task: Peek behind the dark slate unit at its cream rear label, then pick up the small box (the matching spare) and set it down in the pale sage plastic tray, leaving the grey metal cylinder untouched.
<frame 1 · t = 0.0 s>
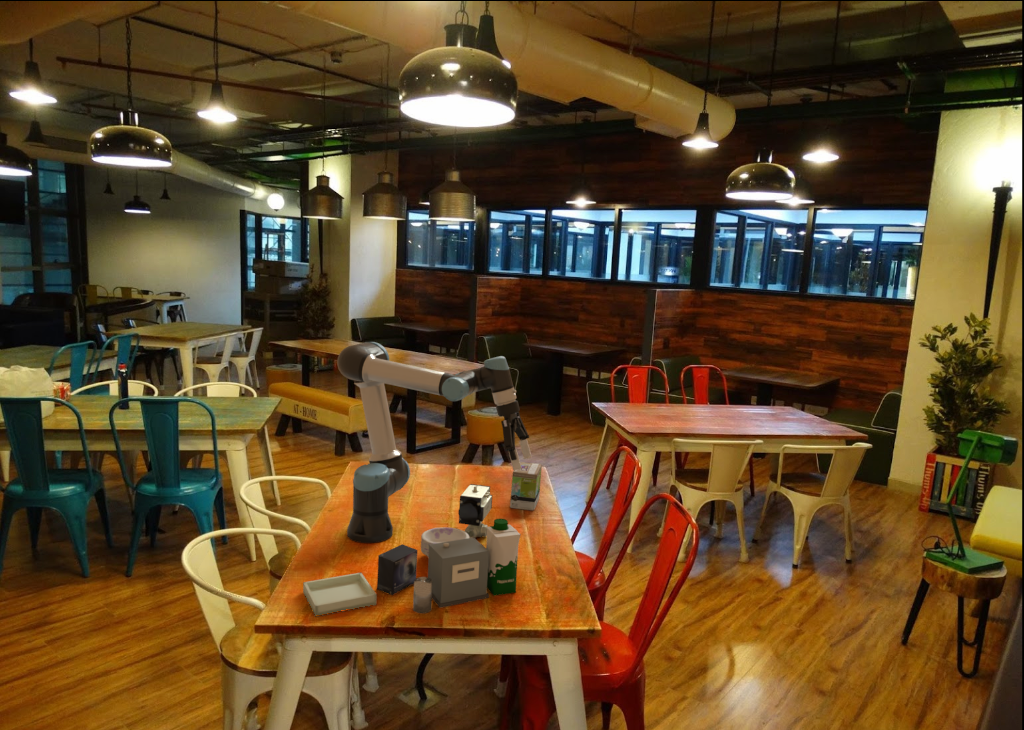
hand: (522, 463, 234), 28 cm above the table, tool tilted 20°, fingers open, 13 cm apart
grey cylinder: (422, 608, 190), on the table
tray: (339, 598, 193), on the table
tea box: (525, 503, 276), on the table
milk carton: (500, 589, 204), on the table
ball valve: (475, 536, 242), on the table
small box: (396, 587, 202), on the table
paper bowls: (444, 559, 222), on the table
unit: (456, 594, 199), on the table
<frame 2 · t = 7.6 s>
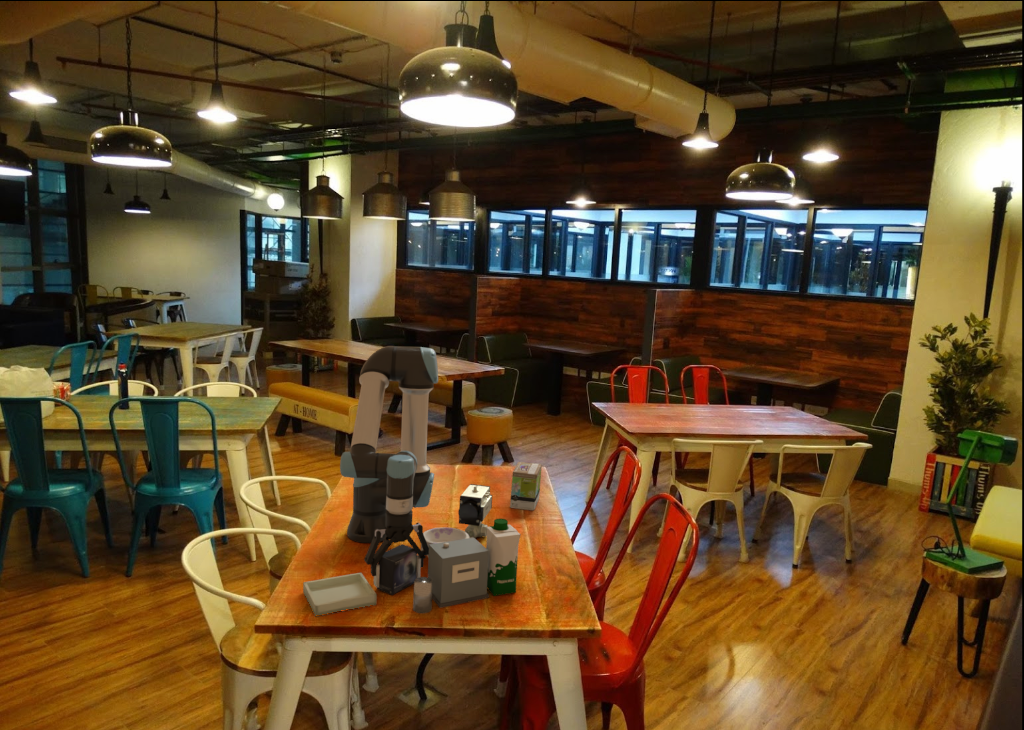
hand: (397, 581, 202), 1 cm above the table, tool pointing down, fingers closed on small box, 12 cm apart
small box: (396, 586, 202), on the table, touching gripper
everything else where it was.
when the fingers open (5 cm above the table, at t = 13.7 s): small box drops 2 cm, resting on tray.
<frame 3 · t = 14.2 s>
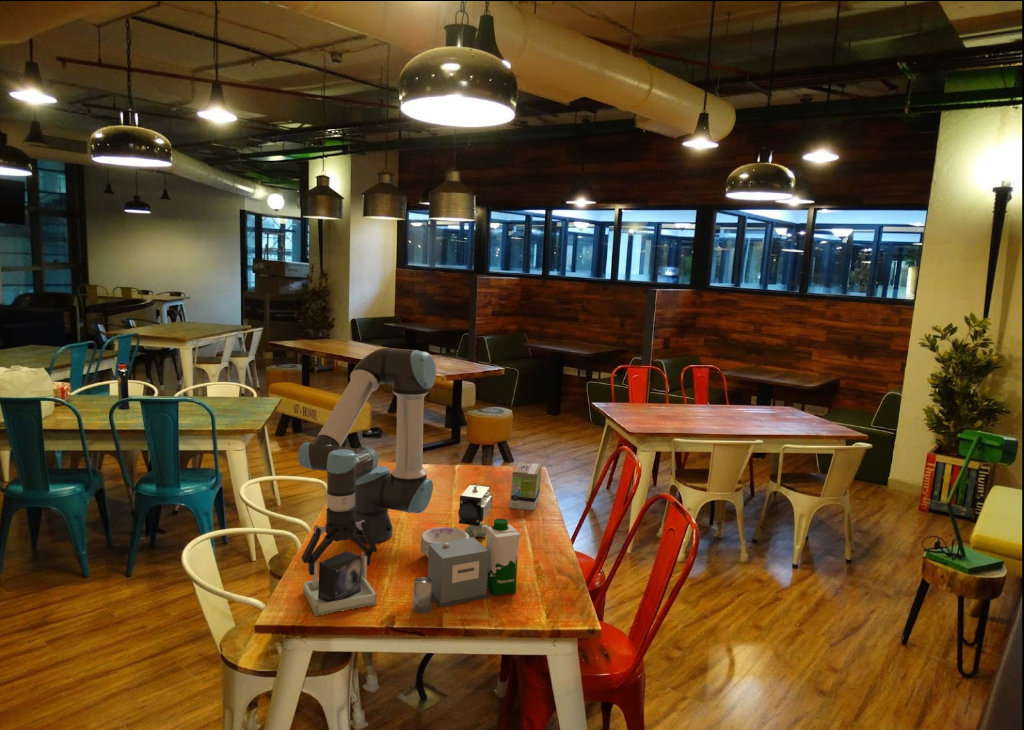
hand: (339, 580, 192), 5 cm above the table, tool pointing down, fingers open, 13 cm apart
small box: (339, 595, 193), point 1 cm above the table, touching tray
everything else where it was.
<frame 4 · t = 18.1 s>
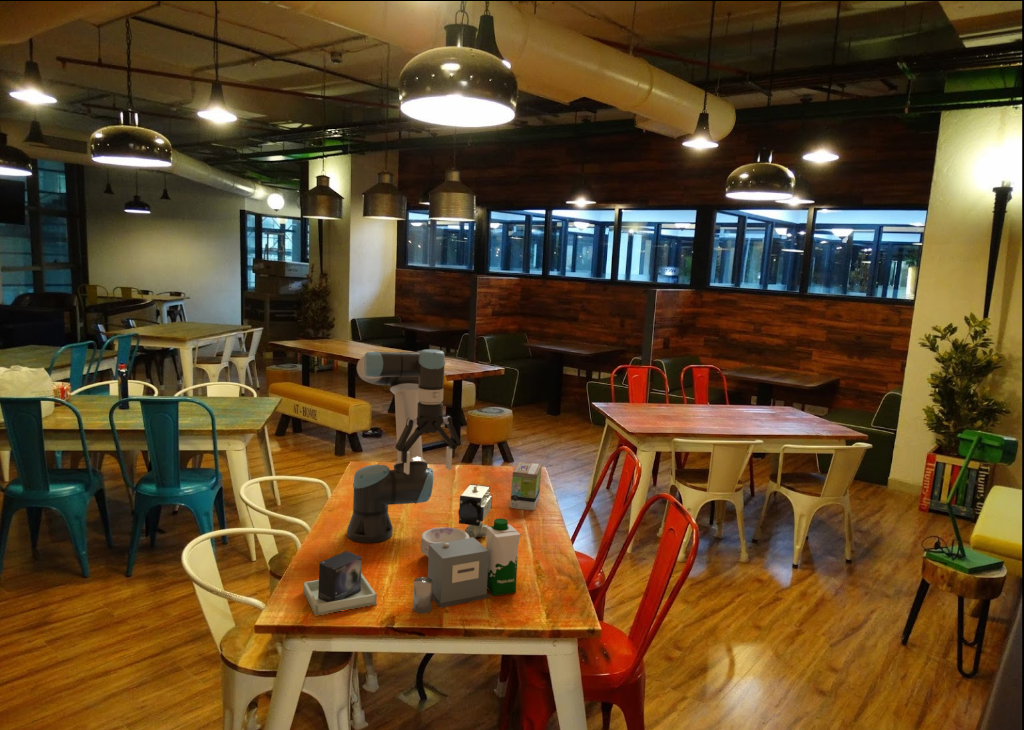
hand: (427, 470, 211), 31 cm above the table, tool pointing down, fingers open, 13 cm apart
nothing on the table moved.
at the end: small box inside the target area on the tray (0.2 cm from its centre), point 0.8 cm above the tray's base; small box tilted 0°; the gripper is holding nothing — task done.
